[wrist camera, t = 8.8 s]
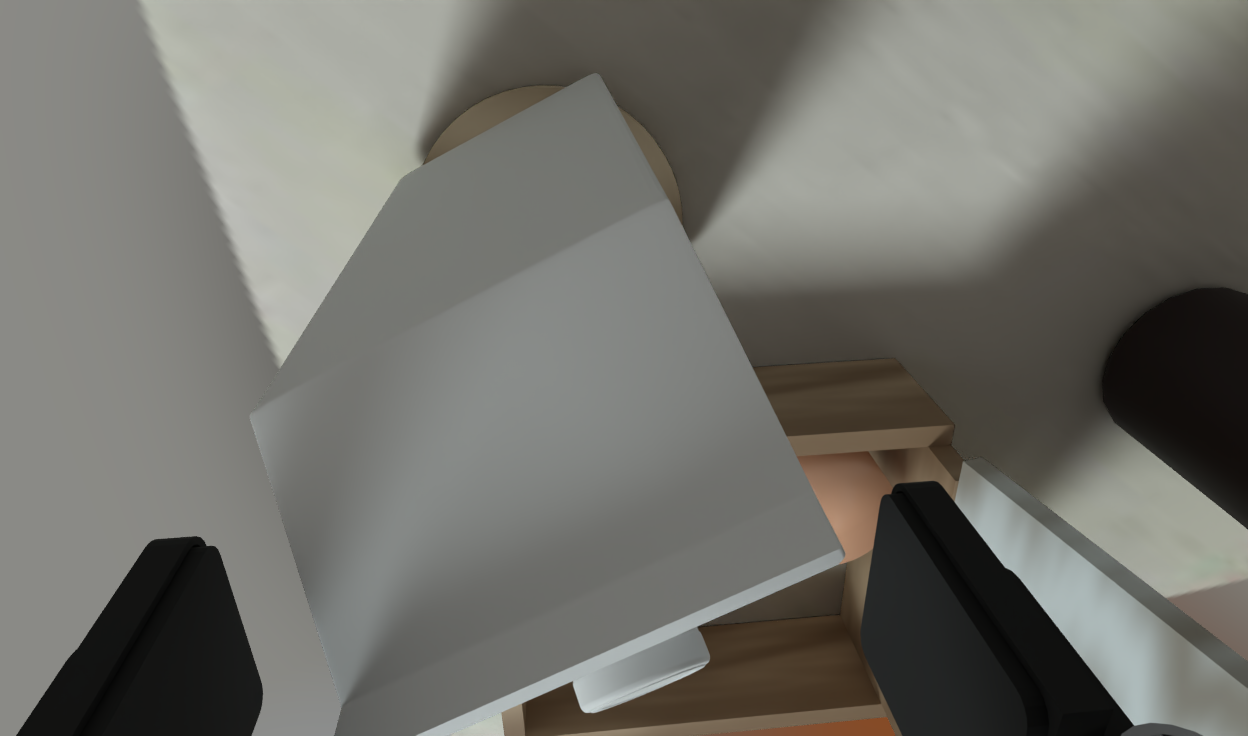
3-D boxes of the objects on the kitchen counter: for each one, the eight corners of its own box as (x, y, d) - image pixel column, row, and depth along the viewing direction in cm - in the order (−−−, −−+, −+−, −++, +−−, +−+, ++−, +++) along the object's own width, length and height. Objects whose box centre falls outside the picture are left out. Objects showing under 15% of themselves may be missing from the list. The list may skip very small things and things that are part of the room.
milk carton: (399, 176, 25) (125, 599, 9) (597, 68, 24) (727, 303, 8) (512, 352, 29) (474, 915, 12) (691, 262, 28) (930, 731, 11)
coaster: (394, 90, 25) (391, 93, 24) (681, 80, 25) (684, 82, 25) (432, 350, 29) (430, 357, 28) (678, 336, 30) (681, 343, 29)
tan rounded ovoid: (743, 396, 31) (777, 469, 27) (853, 389, 31) (905, 459, 27) (738, 489, 33) (769, 571, 29) (841, 481, 33) (888, 560, 29)
